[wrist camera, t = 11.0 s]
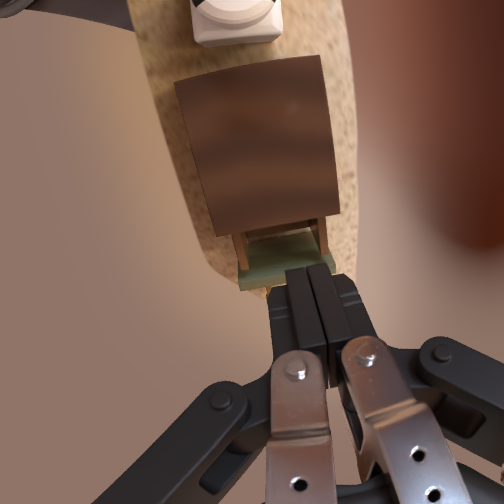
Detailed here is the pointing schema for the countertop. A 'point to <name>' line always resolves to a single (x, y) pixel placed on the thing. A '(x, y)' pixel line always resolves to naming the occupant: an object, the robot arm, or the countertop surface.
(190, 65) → the countertop surface
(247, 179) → the cabinet
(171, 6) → the countertop surface
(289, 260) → the drawer
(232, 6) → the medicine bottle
